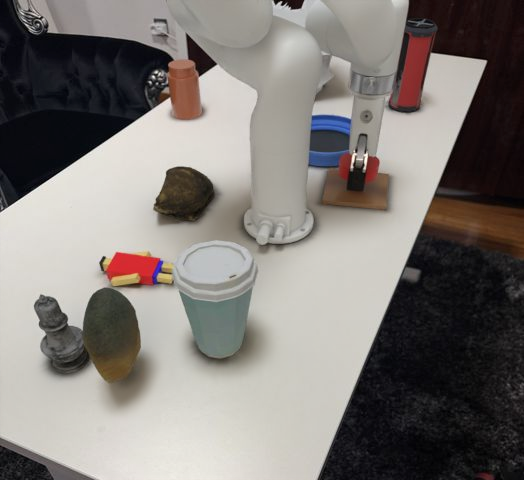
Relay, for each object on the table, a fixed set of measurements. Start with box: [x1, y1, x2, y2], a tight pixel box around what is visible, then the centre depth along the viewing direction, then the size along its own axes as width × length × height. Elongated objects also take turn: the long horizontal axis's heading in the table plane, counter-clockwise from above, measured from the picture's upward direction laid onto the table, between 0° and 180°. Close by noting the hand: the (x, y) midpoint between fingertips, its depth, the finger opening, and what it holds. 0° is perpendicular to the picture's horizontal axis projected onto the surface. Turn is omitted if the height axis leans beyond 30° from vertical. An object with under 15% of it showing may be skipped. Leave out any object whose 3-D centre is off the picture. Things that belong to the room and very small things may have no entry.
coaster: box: [321, 168, 389, 211], centre depth 97 cm, size 12×12×1 cm
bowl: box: [308, 113, 351, 167], centre depth 107 cm, size 18×18×4 cm
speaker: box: [388, 17, 438, 113], centre depth 115 cm, size 8×8×18 cm
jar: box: [166, 58, 203, 120], centre depth 117 cm, size 7×7×11 cm
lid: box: [337, 151, 381, 183], centre depth 93 cm, size 8×8×2 cm
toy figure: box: [98, 250, 174, 287], centre depth 80 cm, size 2×7×12 cm
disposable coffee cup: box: [171, 239, 259, 359], centre depth 65 cm, size 11×11×15 cm
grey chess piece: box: [33, 293, 91, 374], centre depth 64 cm, size 6×6×12 cm
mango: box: [82, 286, 142, 384], centre depth 61 cm, size 10×6×15 cm, turn 170°
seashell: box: [152, 165, 216, 221], centre depth 92 cm, size 16×9×7 cm, turn 160°
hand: (356, 178), depth 95 cm, fingers closed on lid, 7 cm apart
